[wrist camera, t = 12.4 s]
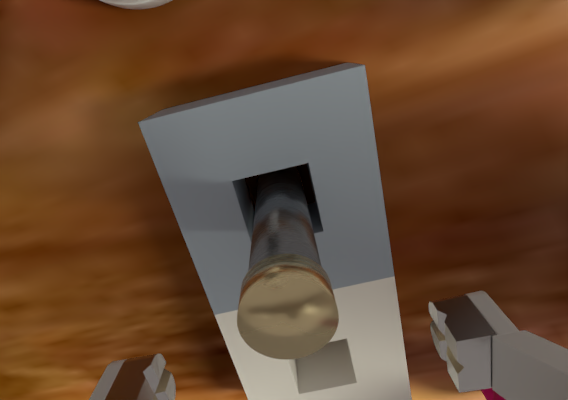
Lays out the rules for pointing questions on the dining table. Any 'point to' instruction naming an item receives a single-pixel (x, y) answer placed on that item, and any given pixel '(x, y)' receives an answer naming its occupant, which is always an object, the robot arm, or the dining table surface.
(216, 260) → the pin board
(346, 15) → the dining table surface
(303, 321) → the lock pin
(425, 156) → the dining table surface
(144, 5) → the vodka
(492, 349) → the robot arm
